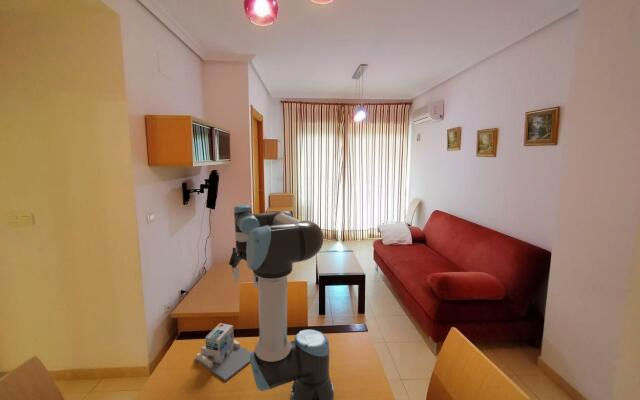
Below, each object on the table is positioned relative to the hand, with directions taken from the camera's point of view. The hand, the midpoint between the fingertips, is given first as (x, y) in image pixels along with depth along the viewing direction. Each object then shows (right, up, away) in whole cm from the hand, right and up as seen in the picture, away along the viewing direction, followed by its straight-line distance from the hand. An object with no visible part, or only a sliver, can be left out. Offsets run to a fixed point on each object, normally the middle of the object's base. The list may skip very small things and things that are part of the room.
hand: (246, 283), depth 137 cm
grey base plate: (-5, -27, -13) cm, 31 cm away
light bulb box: (-8, -27, -11) cm, 30 cm away
